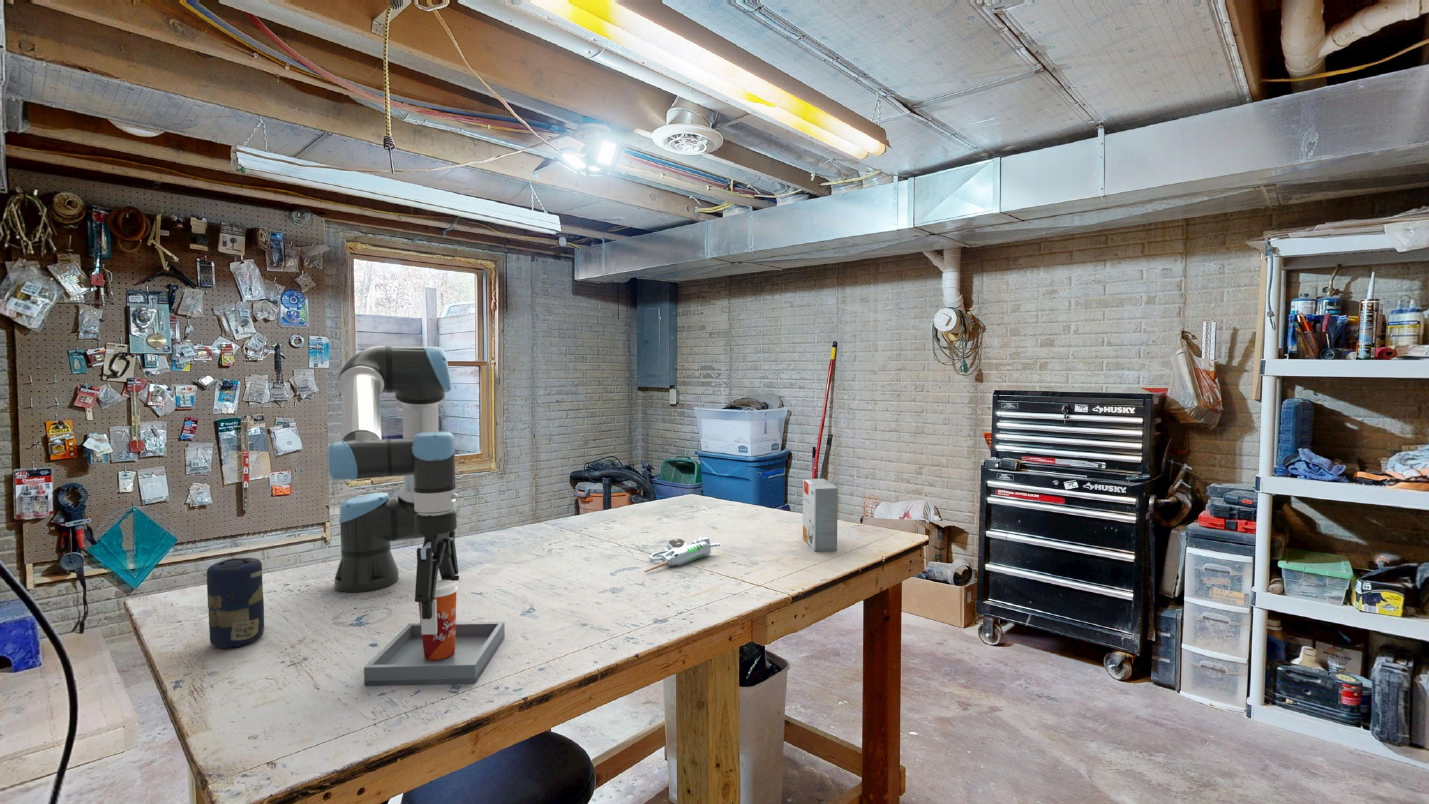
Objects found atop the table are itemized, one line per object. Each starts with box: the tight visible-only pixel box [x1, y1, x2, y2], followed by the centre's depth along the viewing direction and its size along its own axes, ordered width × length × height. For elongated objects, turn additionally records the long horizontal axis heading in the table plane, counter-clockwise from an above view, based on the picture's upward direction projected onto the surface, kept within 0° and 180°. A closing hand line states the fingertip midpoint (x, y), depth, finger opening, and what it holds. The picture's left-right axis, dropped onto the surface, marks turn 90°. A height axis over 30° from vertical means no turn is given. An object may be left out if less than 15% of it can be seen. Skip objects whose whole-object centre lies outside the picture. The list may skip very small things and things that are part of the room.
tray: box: [363, 621, 506, 687], centre depth 131 cm, size 20×20×4 cm
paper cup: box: [418, 579, 459, 660], centre depth 131 cm, size 8×8×14 cm
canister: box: [206, 557, 265, 648], centre depth 139 cm, size 10×10×18 cm
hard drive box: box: [802, 478, 839, 552], centre depth 212 cm, size 16×8×20 cm, turn 6°
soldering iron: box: [643, 536, 721, 573], centre depth 196 cm, size 6×28×16 cm
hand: (439, 623), depth 131 cm, fingers open, 9 cm apart
